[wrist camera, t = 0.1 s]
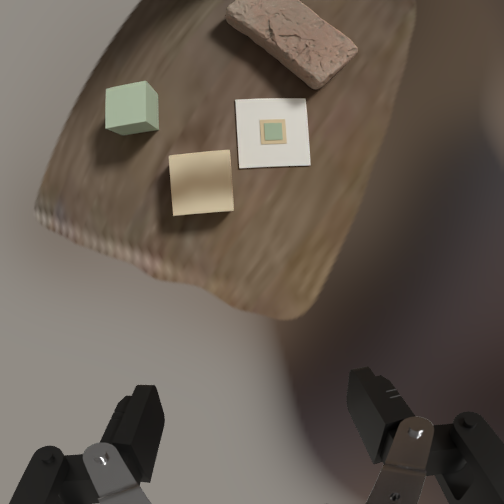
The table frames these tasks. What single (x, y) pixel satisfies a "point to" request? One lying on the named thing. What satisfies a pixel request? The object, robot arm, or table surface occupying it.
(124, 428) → the robot arm
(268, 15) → the brick
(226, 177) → the base block
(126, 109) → the green block
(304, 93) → the table surface
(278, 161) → the page
